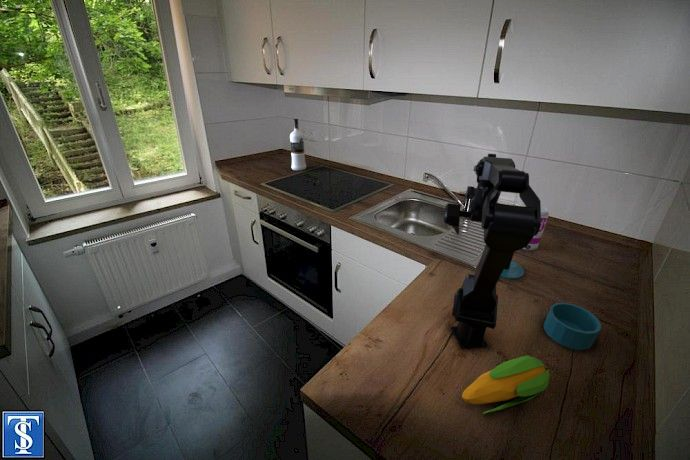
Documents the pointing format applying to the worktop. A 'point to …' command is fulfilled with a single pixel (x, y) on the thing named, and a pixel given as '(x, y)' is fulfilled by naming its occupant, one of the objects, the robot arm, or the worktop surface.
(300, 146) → the vodka
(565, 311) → the pot
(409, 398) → the worktop surface
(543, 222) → the supplement can
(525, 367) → the corn
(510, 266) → the lid
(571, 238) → the worktop surface
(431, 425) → the worktop surface
